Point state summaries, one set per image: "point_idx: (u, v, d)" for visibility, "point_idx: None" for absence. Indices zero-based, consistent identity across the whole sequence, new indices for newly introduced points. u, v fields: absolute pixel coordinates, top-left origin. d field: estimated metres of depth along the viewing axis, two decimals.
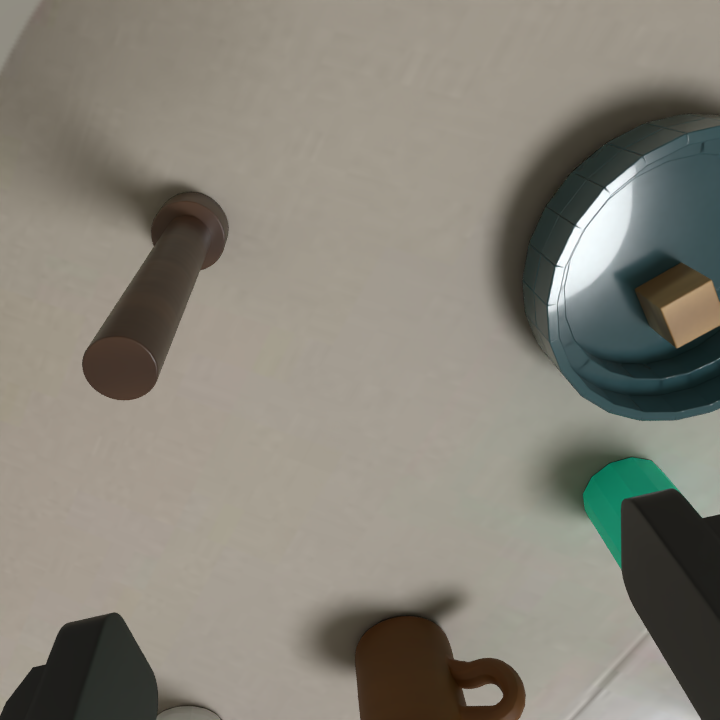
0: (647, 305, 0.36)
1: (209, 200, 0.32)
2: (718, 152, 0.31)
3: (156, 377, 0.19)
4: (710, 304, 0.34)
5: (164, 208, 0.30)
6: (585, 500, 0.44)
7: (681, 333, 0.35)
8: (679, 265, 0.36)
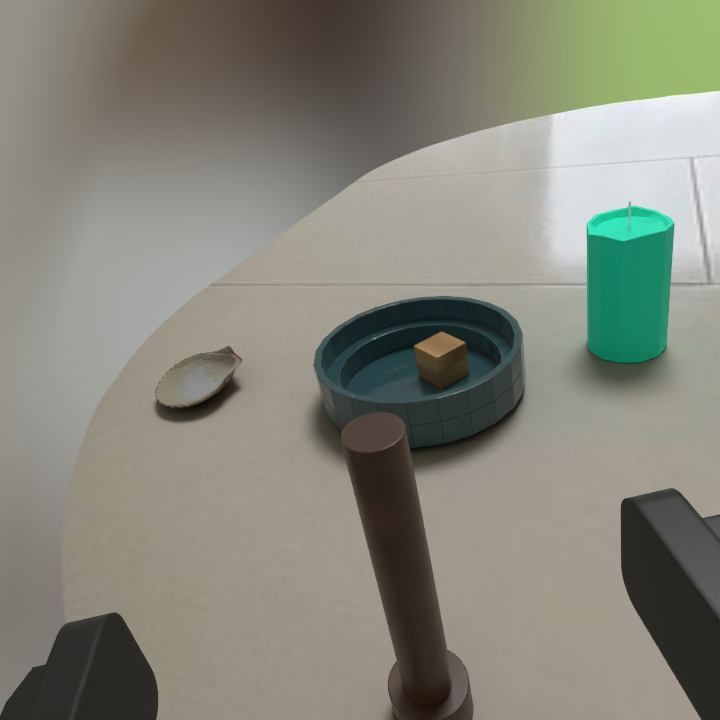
0: (446, 373, 0.49)
1: None
2: (338, 375, 0.51)
3: (380, 412, 0.22)
4: (430, 340, 0.51)
5: (397, 707, 0.27)
6: (644, 356, 0.49)
7: (453, 344, 0.49)
8: (419, 375, 0.52)
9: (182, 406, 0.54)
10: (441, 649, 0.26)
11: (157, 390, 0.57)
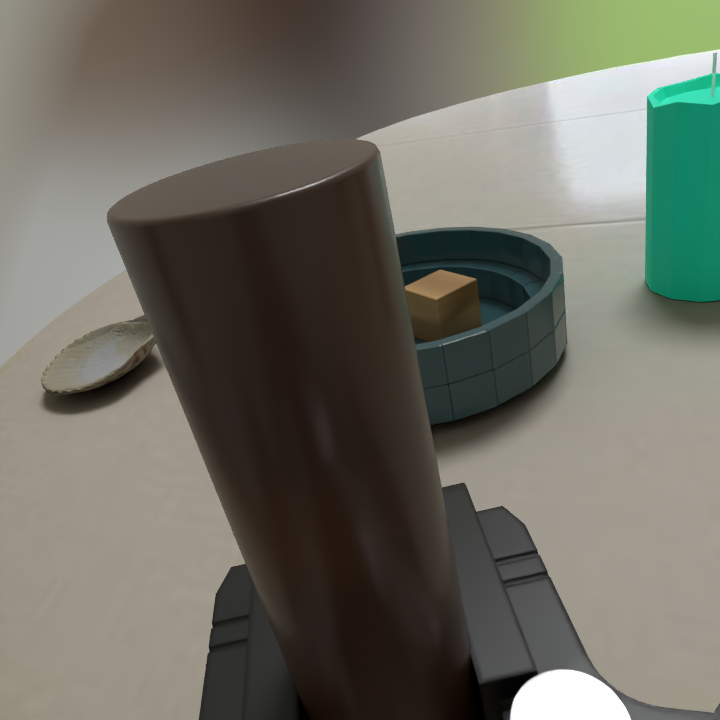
0: (450, 324, 0.34)
1: None
2: None
3: (289, 145, 0.06)
4: (425, 280, 0.35)
5: None
6: None
7: (458, 282, 0.34)
8: None
9: (73, 390, 0.37)
10: None
11: (45, 373, 0.41)
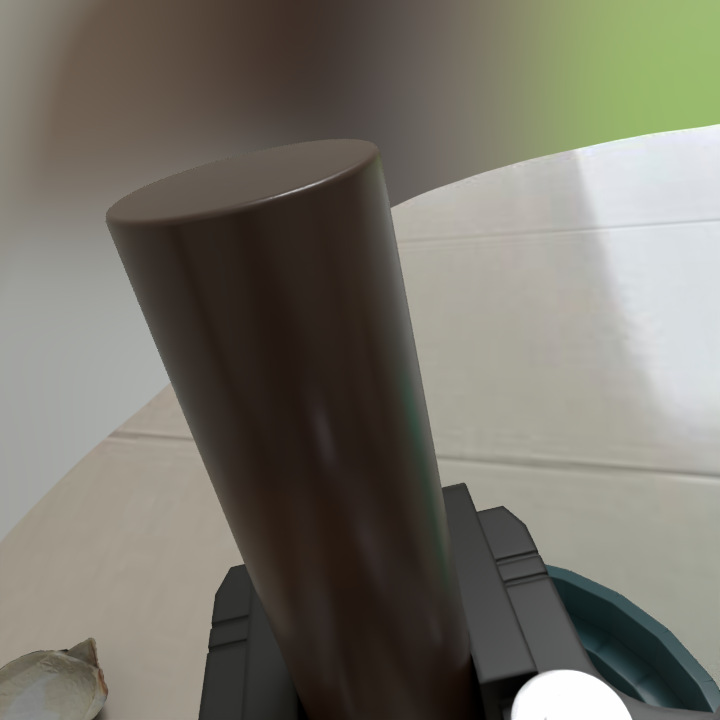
0: None
1: None
2: None
3: (288, 146, 0.06)
4: None
5: None
6: None
7: None
8: None
9: None
10: None
11: None
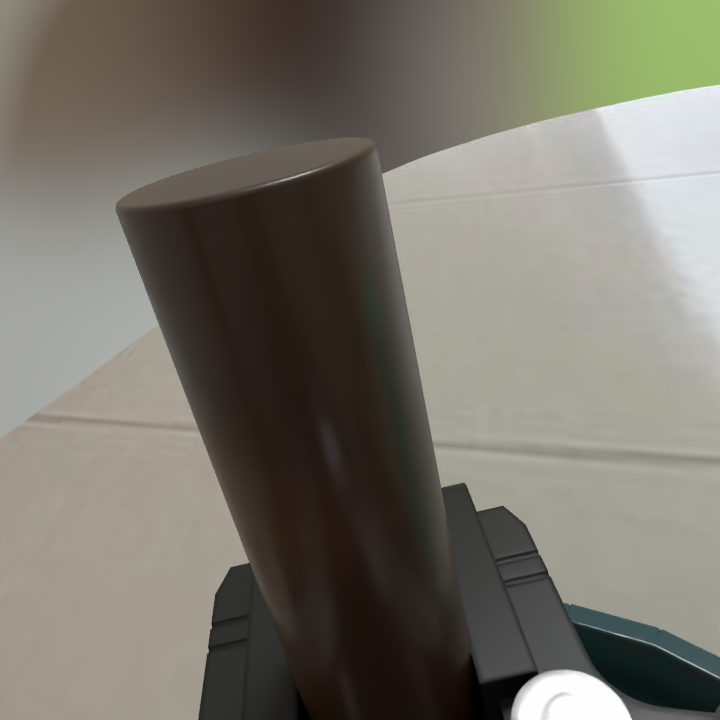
0: None
1: None
2: None
3: (296, 145, 0.06)
4: None
5: None
6: None
7: None
8: None
9: None
10: None
11: None
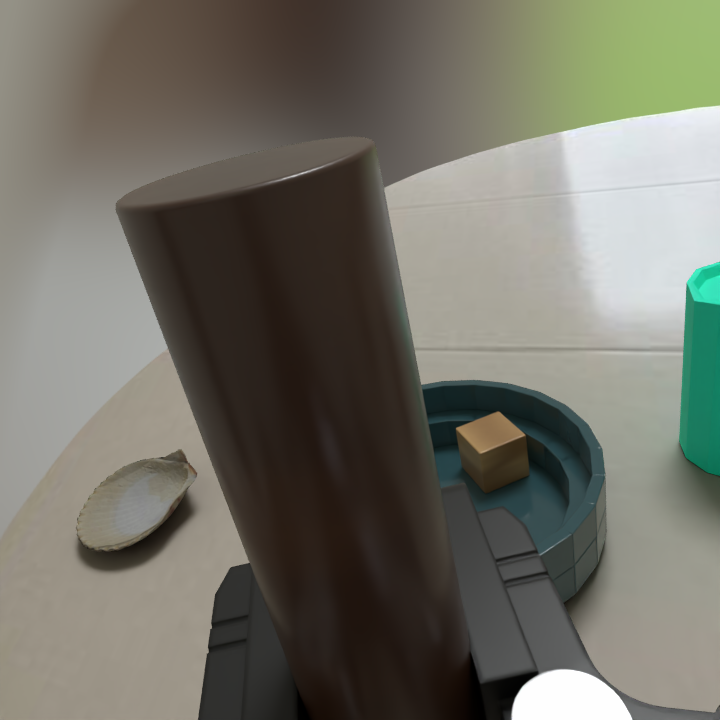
0: (493, 474, 0.36)
1: None
2: None
3: (296, 144, 0.06)
4: (479, 423, 0.37)
5: None
6: None
7: (508, 435, 0.36)
8: (462, 465, 0.38)
9: (110, 549, 0.38)
10: None
11: (79, 519, 0.41)
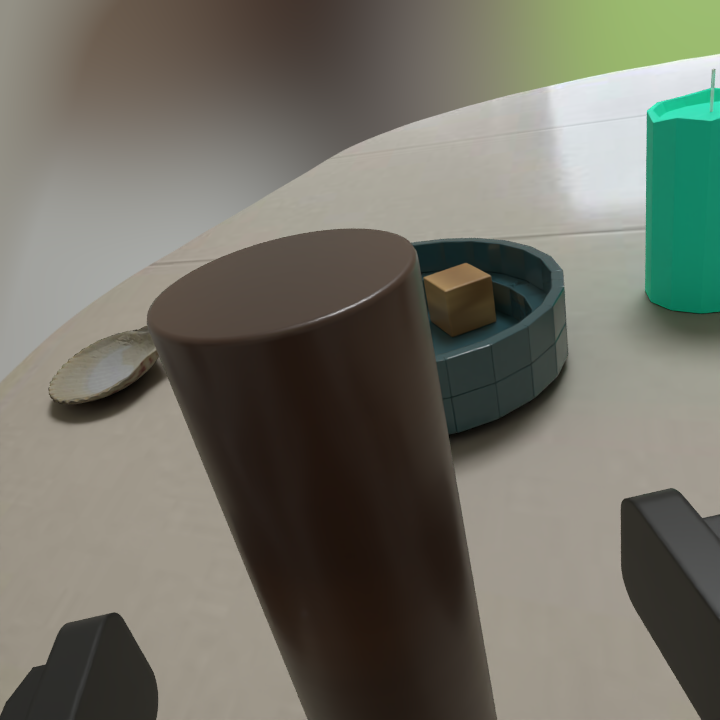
0: (459, 316, 0.36)
1: None
2: None
3: (327, 230, 0.06)
4: (446, 272, 0.37)
5: None
6: None
7: (474, 277, 0.36)
8: (431, 318, 0.39)
9: (80, 400, 0.38)
10: None
11: (52, 382, 0.41)
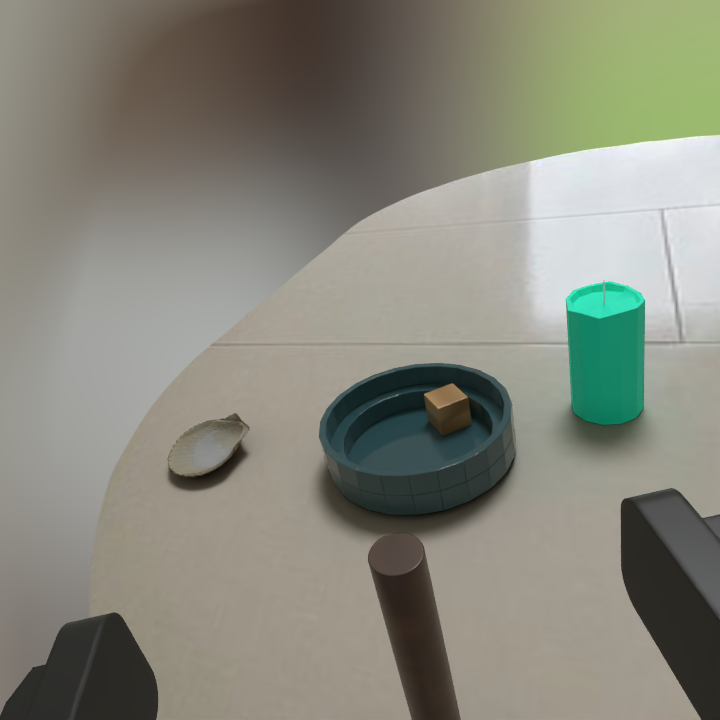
0: (447, 423, 0.55)
1: None
2: (342, 443, 0.54)
3: (402, 533, 0.25)
4: (439, 391, 0.56)
5: None
6: (623, 419, 0.53)
7: (457, 397, 0.55)
8: (428, 419, 0.58)
9: (195, 475, 0.57)
10: None
11: (169, 459, 0.60)
